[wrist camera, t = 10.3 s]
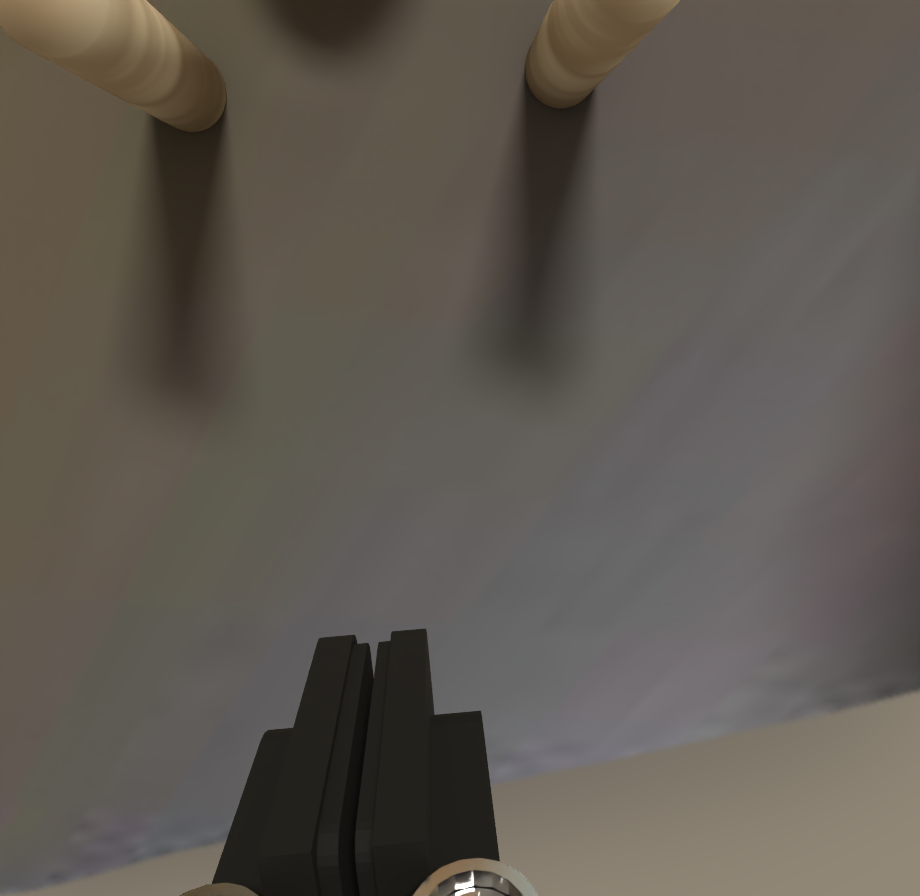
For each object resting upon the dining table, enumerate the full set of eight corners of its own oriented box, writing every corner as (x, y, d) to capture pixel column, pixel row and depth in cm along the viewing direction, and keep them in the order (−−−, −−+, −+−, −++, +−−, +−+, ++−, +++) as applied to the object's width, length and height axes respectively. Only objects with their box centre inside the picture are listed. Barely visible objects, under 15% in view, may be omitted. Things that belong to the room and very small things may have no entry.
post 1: (219, 47, 23) (93, -85, 14) (231, 129, 23) (118, 53, 15) (143, 51, 23) (-32, -78, 14) (158, 134, 23) (0, 60, 15)
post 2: (597, 24, 23) (700, -118, 14) (598, 106, 24) (696, 18, 15) (523, 28, 23) (582, -112, 14) (526, 110, 24) (584, 24, 15)
